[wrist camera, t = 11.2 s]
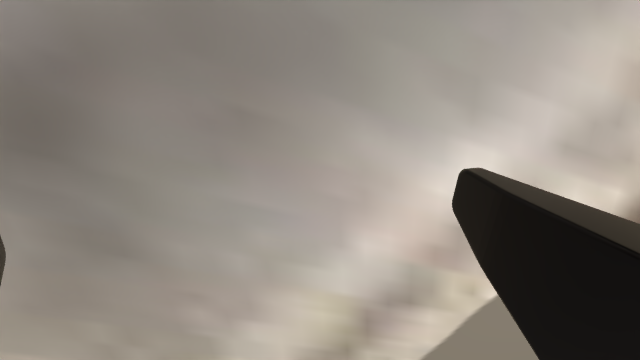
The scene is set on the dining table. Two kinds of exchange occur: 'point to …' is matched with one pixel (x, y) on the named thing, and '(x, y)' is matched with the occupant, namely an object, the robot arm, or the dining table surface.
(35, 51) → the dining table surface
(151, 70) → the dining table surface
